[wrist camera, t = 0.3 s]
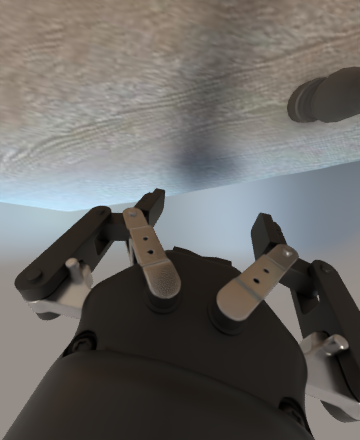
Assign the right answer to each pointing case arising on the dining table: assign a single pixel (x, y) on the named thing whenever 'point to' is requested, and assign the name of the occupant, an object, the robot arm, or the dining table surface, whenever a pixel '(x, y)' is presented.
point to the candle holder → (327, 98)
